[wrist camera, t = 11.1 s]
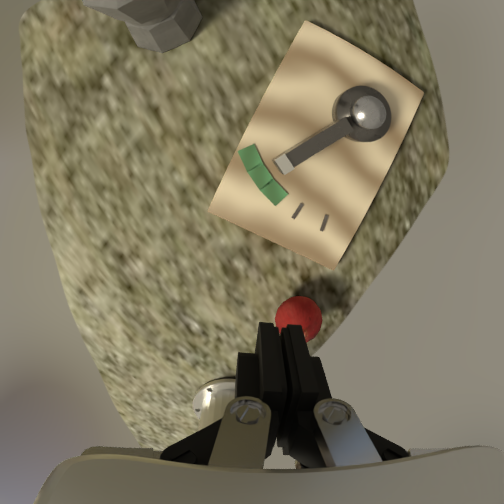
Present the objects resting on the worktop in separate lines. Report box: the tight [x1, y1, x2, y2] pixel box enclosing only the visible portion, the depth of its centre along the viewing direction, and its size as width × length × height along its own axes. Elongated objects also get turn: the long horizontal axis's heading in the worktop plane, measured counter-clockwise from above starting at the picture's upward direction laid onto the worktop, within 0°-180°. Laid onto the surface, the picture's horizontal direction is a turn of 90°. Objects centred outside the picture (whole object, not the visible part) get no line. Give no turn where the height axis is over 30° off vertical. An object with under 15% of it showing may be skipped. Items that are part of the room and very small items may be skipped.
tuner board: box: [207, 20, 424, 270], centre depth 34 cm, size 26×17×2 cm, turn 154°
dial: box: [272, 86, 391, 175], centre depth 31 cm, size 15×6×4 cm, turn 124°
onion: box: [275, 296, 322, 342], centre depth 38 cm, size 6×6×8 cm
